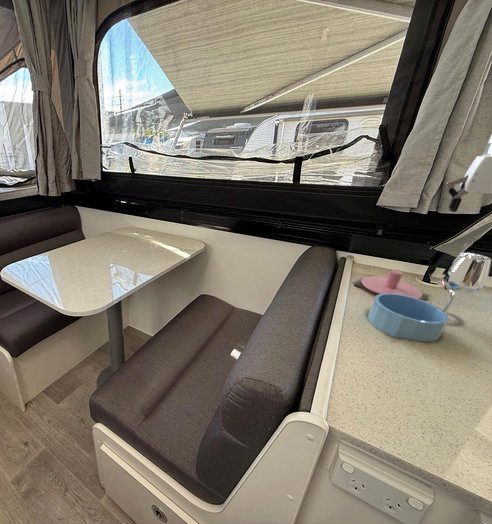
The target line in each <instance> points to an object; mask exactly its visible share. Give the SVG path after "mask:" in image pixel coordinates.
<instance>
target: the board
mask: <svg viewBox="0 0 492 524" xmlns="http://www.w3.org/2000/svg"><path fill="white" fill-rule="evenodd" d="M353 286H354V287H355V288H359V289H361V290H364V291H367V292H368V293H372V294H374V295H375V296H377V295H379V294H378V293H375V292H373V291H371V290H369V289H368V288H366V287H365V286H364V285H363V284H362V283H361V280H360V281H357V282H355V283H354V284H353ZM426 299H428V295H426V294H424V293H422V297H421V298H420V300H423V301H425V300H426Z"/></svg>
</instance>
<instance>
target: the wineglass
mask: <svg viewBox="0 0 492 524" xmlns="http://www.w3.org/2000/svg"><path fill="white" fill-rule="evenodd" d="M491 264H492V258H490V257H489V256H485V255H483V254H478V253H473V252H472V253H471V252H459V253H458V254H457V255H456V256H455V258H453V260H452V261H451V262H450V263H449V264H448V266H447V267H445V269H444V270H443V272H442V274H441V276H440V277H439V278H440V279H439V281H440V285H441V287H442V288H443V289H444V290H445V291H446V292H447V293H448V294H450V296H449V300H448V301H447V303H446V305H445V307H444V309H443V311H444V312H445V313H446V314H447V313H448V311H449V309H450V307H451V306H452V303H453V302H454V300H455V299H457V297H459V296H460V297H461V296H462V297H463V296H469V295H474V294H476V293H478V292H480V291H481V290H482V289H483V288H484V287H485V286H486V283H487V280H488V278H489V274H490V268H491Z"/></svg>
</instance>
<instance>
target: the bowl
mask: <svg viewBox="0 0 492 524" xmlns="http://www.w3.org/2000/svg"><path fill="white" fill-rule="evenodd" d="M367 319H368V322H369V323H370V324H371V325H372V326H373V327H375V328H376V329H378V330H379V331H381V332H382V333H384V334H386V335H388V336H390V337H392V338H395V339H398V340H401V341H402V340H403V339H408V340H412V341H418V342H423V343H425V342H436V341H437V340H438V339H439V338H440V337H441V335H443V334H442V333H443V332H444V331H445V328H446V326H447V325H448V323H449V321H450V318H449V314H447V313H445V312H444V310H442V309H441V308H440V307H438V306H436V305H434V304H433V303H430V302H428V301H426V300H420V299H417V298H414V297H410V296H406V295H402V294H394V293H381V294H379V295H375V296H374V298H373V301H372V304H371V306H370V307H369V311H368V314H367Z"/></svg>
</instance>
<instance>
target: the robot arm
mask: <svg viewBox="0 0 492 524" xmlns="http://www.w3.org/2000/svg"><path fill="white" fill-rule="evenodd" d="M458 184H459V187H458V188H459V189H458V190H456V188H455V186H456V185H458ZM445 188H446V191H447V193H448V194H449V195H450V196H451V200H450V202H449V205H448V208H447V209H449V211H450V212H452V213H455V212H456V213H457V212H458V209H459V207H460V204H461V202H462V201H463V199H462V197H463V196H465V195H467V194H469V193H472V194H488V195H490V194H492V134H491V135H490V137H489V139H488V142H487V144H486V147H485V148H484V151H483V152H482V155H476V157H475V159H474V160H473V161H472V163H471V164H470V166H469V167H468V169H467V171H466V173H465V174H464V176H463V177H459V178H455V179H452V180H449V181H447V182H445Z"/></svg>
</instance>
